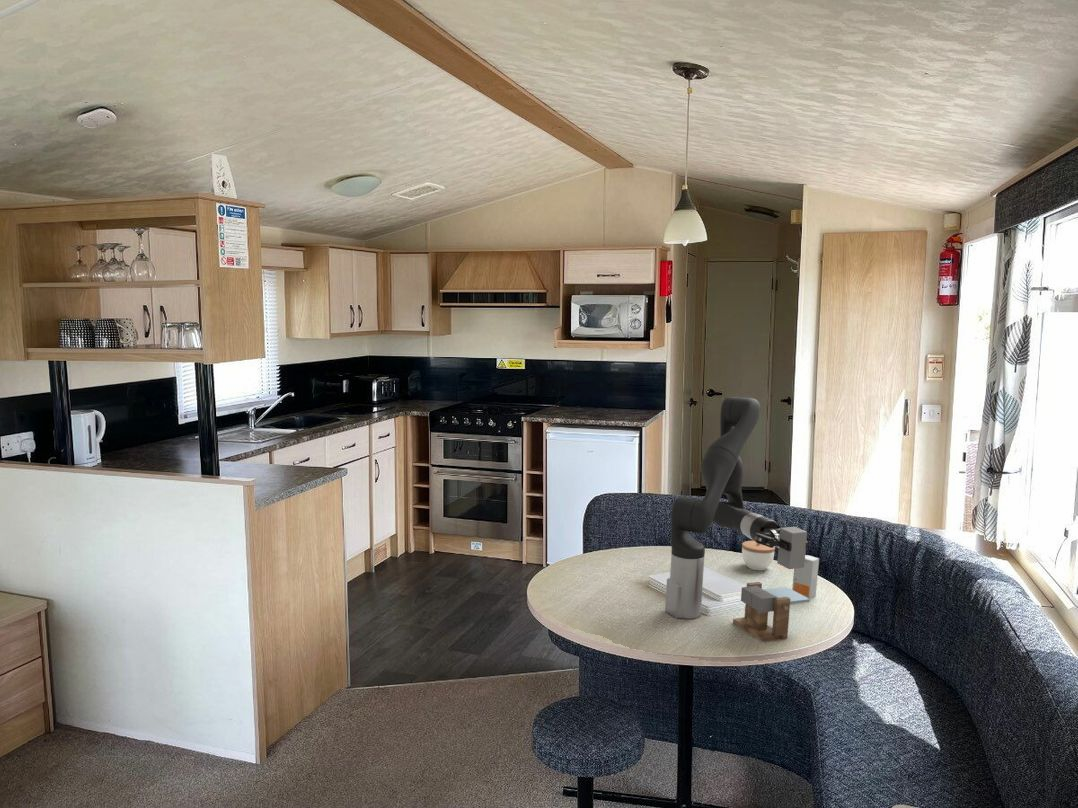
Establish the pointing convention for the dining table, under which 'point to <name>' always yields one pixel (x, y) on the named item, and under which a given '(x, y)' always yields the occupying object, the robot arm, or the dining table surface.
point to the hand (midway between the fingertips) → (798, 546)
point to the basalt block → (793, 548)
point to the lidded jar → (757, 555)
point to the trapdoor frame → (758, 621)
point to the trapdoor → (769, 597)
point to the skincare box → (806, 577)
